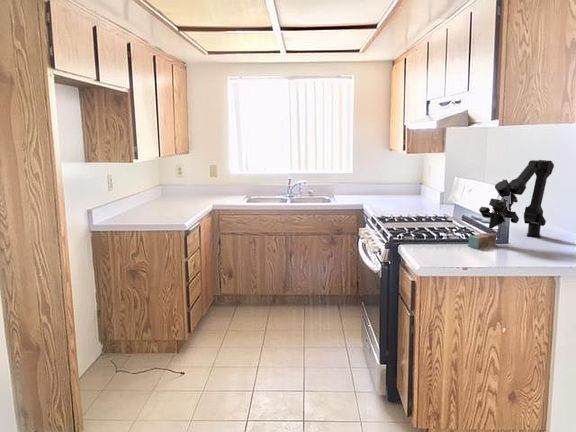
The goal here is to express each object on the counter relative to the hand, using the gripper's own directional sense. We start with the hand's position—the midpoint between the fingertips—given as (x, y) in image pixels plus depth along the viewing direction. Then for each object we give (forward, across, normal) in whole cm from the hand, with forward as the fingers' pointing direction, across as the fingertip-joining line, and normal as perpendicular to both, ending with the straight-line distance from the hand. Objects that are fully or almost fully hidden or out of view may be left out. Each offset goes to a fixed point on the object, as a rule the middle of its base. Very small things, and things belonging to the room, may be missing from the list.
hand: (489, 228), depth 240 cm
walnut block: (+2, 0, +6) cm, 6 cm away
